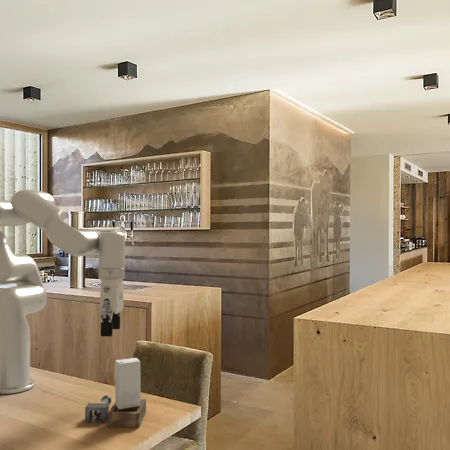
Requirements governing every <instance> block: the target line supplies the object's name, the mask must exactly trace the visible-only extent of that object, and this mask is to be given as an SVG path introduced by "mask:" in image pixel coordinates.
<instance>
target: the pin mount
mask: <svg viewBox="0 0 450 450" xmlns="http://www.w3.org/2000/svg"><path fill="white" fill-rule="evenodd" d="M109 408H110V405H109V403H100V402H99V403H98V402H89V403H87V404H86V406H85V407H84V422H85V423H106V422H108V412H109V411H110V409H109ZM94 411H101V416H99V417H97V416H94Z"/></svg>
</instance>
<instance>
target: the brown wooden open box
mask: <svg viewBox="0 0 450 450" xmlns="http://www.w3.org/2000/svg"><path fill="white" fill-rule="evenodd" d="M146 413H147V399H146V398H145V399H143V398H141V406H137V407H131V408H125V409H118V408H117V406H116V404H115V402H114V403H113V405H112V406H111V408H110V409H109V412H108V419H107V427H108V428H140V427H141V425H142V423H143V420H144V417H145V415H146Z"/></svg>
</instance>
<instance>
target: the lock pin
mask: <svg viewBox="0 0 450 450" xmlns="http://www.w3.org/2000/svg"><path fill="white" fill-rule="evenodd" d="M99 403H109V406H110V405H111V404H112V398H111V396H109V395H103V396H102V397H101V399H100V402H99ZM93 416H94V417H101V411H93Z"/></svg>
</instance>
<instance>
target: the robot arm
mask: <svg viewBox="0 0 450 450" xmlns="http://www.w3.org/2000/svg"><path fill="white" fill-rule="evenodd" d="M65 216H66V213H65V210H63V209H62V208H61V207H59V206H58V205H56V201H55V199H54V197H53V196H52V195H51V194H50V193H48V192H46V191H41V190H33V189H21V190H18V191H16V192H15V193H14V194H13V195H12V197H11V199H10V200H9V199H8V200H5V199H0V227H17V226H23V225H27V224H30V223H31V224H33V225H34V226H36V227H37V228H39V229H40V230H42V231H43V232H44V234H45V236H46V237H47V239H48V240H49V242H50V243H51V244H52V245H54V246H55V247H56V248H57V249H60V250H61V251H63V252H64V253H65V254H68V255H70V256H73V257H87V256H88V257H90V256H97V255H98V269H97V271H98V275H97V276H98V280H100V294H99V295H100V296H99V312H100V313H101V315H100V317H101V318H100V337H112V336H113V331H114V330H120V329H121V311H123V309H124V305H125V304H124V303H125V302H124V301H125V300H124V283H123V282H124V281H123V280H124V279H125V275H126V273H125V272H126V269H125V266H126V265H125V263H126V235H125V233H123V232H122V231H101V230H93V229H92V230H90V229H87V230H81V229H80V230H79V229H76V228H75V227H73V226H72V225H69V224H68V223H67V222H65V218H66V217H65ZM42 278H43V277H42V275H41V273H40V270H39V267H38V265H37V263H36V261H35V260H34V259H33V258H32V256H30V255H28V254H25V253H16V254H15V253H14V252H13V250H12V248H11V245H10V243H9V240H8V238H7V237H6V235H5V234H4V232H2V231H1V230H0V286H5V285H6V286H7V285H13V284H16V286H10V287H6V288H4V289H2V290H0V395H3V394H4V395H5V394H6V395H7V394H16V393H17V394H18V393H22V392H26V391H28V390H31V389H33V388H34V387H35V385H36V381H35V379H33V378H32V377H31V328H30V325H29V321H28V320H27V317H26V316H27V315H30V314H35V313H37V312H40V311H42V310H43V309H45V307H46V305H47V301H48V295H47V291H46V287H45V285H44V282H43V279H42Z"/></svg>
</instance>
